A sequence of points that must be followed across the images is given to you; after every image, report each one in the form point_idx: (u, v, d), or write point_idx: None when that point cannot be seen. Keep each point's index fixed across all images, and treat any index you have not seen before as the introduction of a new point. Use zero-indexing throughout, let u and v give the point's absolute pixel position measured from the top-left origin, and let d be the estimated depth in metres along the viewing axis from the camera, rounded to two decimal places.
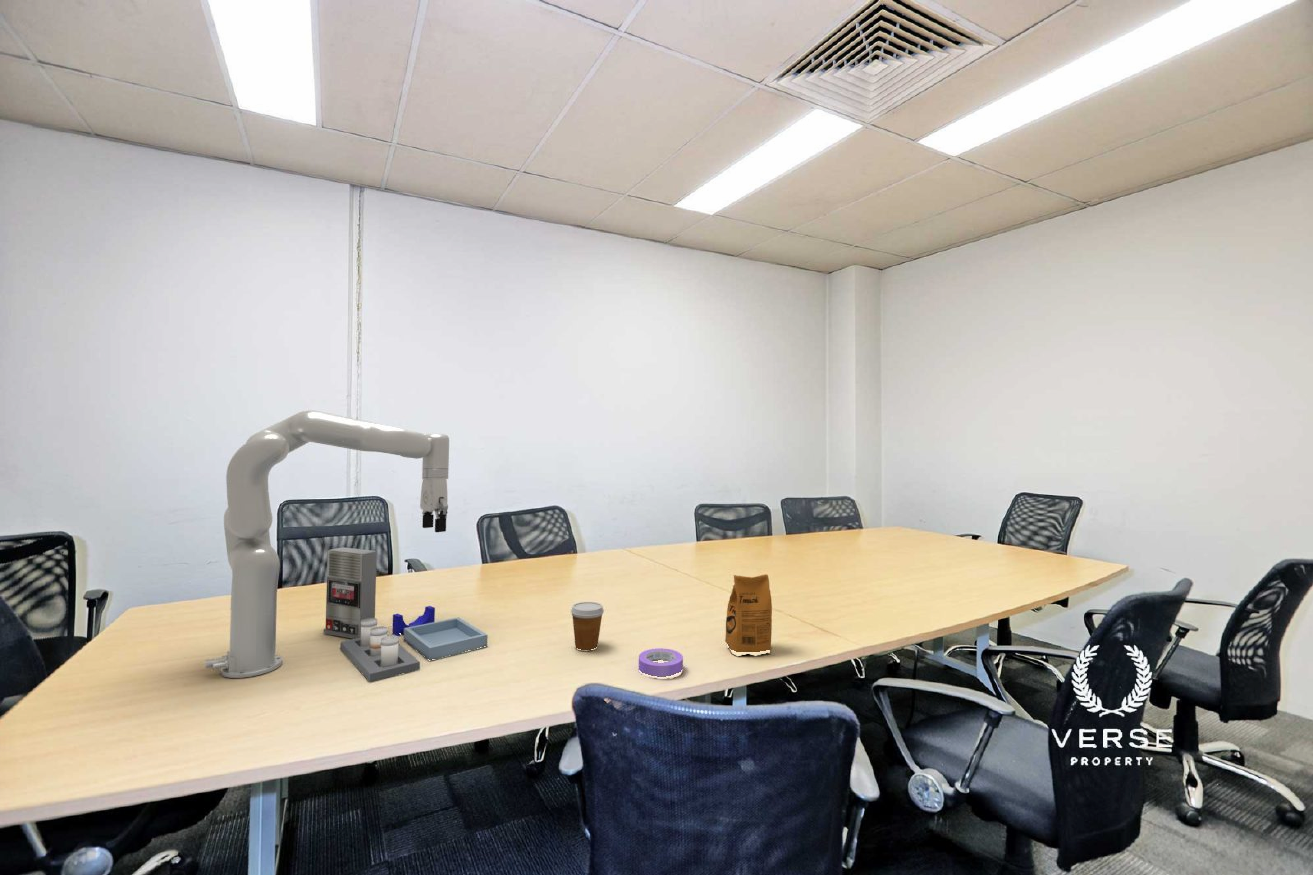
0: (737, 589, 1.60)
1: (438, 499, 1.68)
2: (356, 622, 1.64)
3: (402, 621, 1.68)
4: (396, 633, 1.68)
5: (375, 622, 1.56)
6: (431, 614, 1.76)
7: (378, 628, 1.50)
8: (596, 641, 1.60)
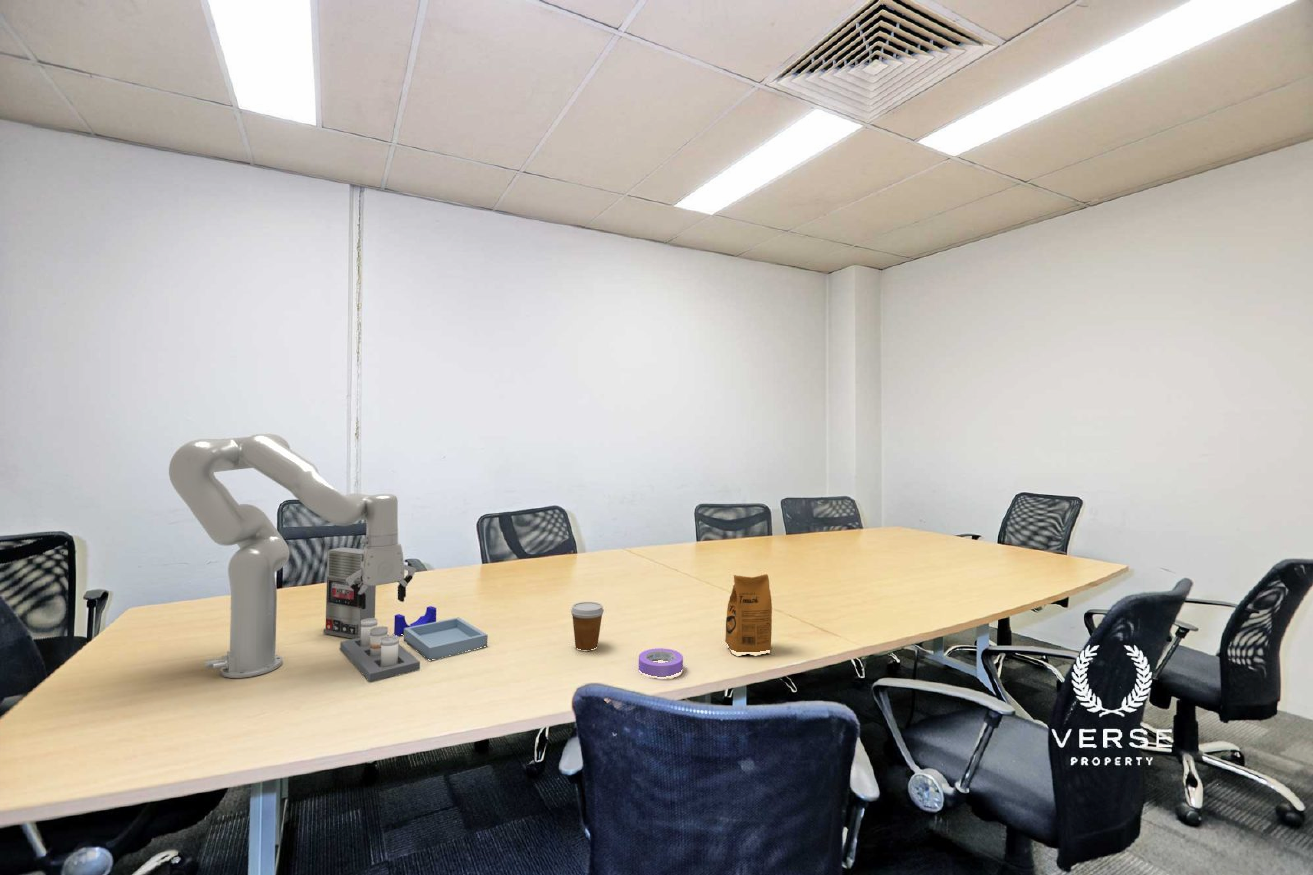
0: (737, 589, 1.60)
1: None
2: (356, 622, 1.64)
3: (404, 621, 1.68)
4: (398, 634, 1.67)
5: (375, 622, 1.56)
6: (433, 614, 1.76)
7: (378, 628, 1.50)
8: (596, 641, 1.60)
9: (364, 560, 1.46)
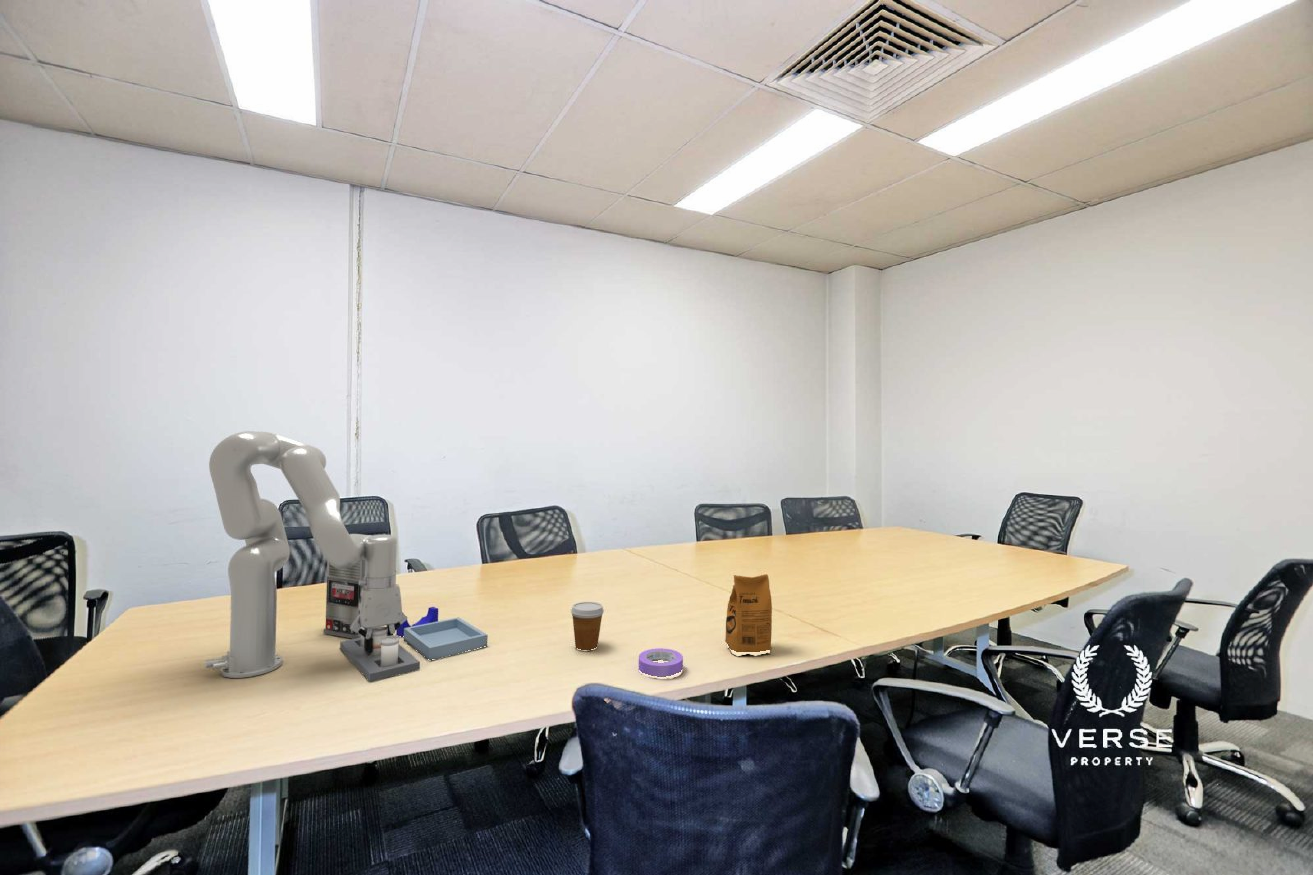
0: (737, 589, 1.60)
1: None
2: None
3: (406, 622, 1.67)
4: (400, 634, 1.67)
5: None
6: (435, 615, 1.75)
7: (378, 628, 1.50)
8: (596, 641, 1.60)
9: (362, 602, 1.46)
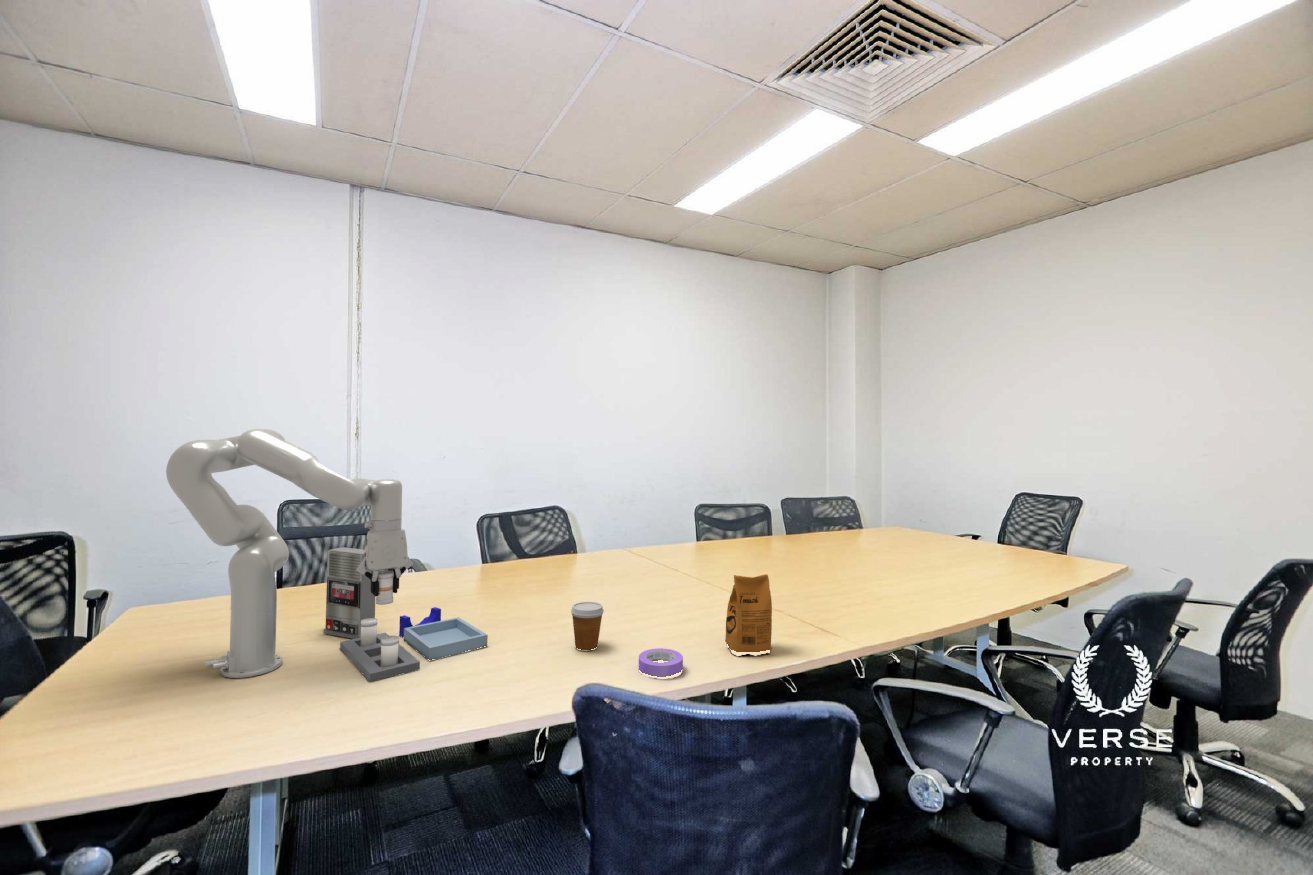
0: (737, 589, 1.60)
1: None
2: (356, 622, 1.64)
3: (409, 623, 1.67)
4: (403, 635, 1.66)
5: (375, 622, 1.56)
6: (437, 615, 1.75)
7: (384, 572, 1.51)
8: (596, 641, 1.60)
9: (368, 544, 1.46)
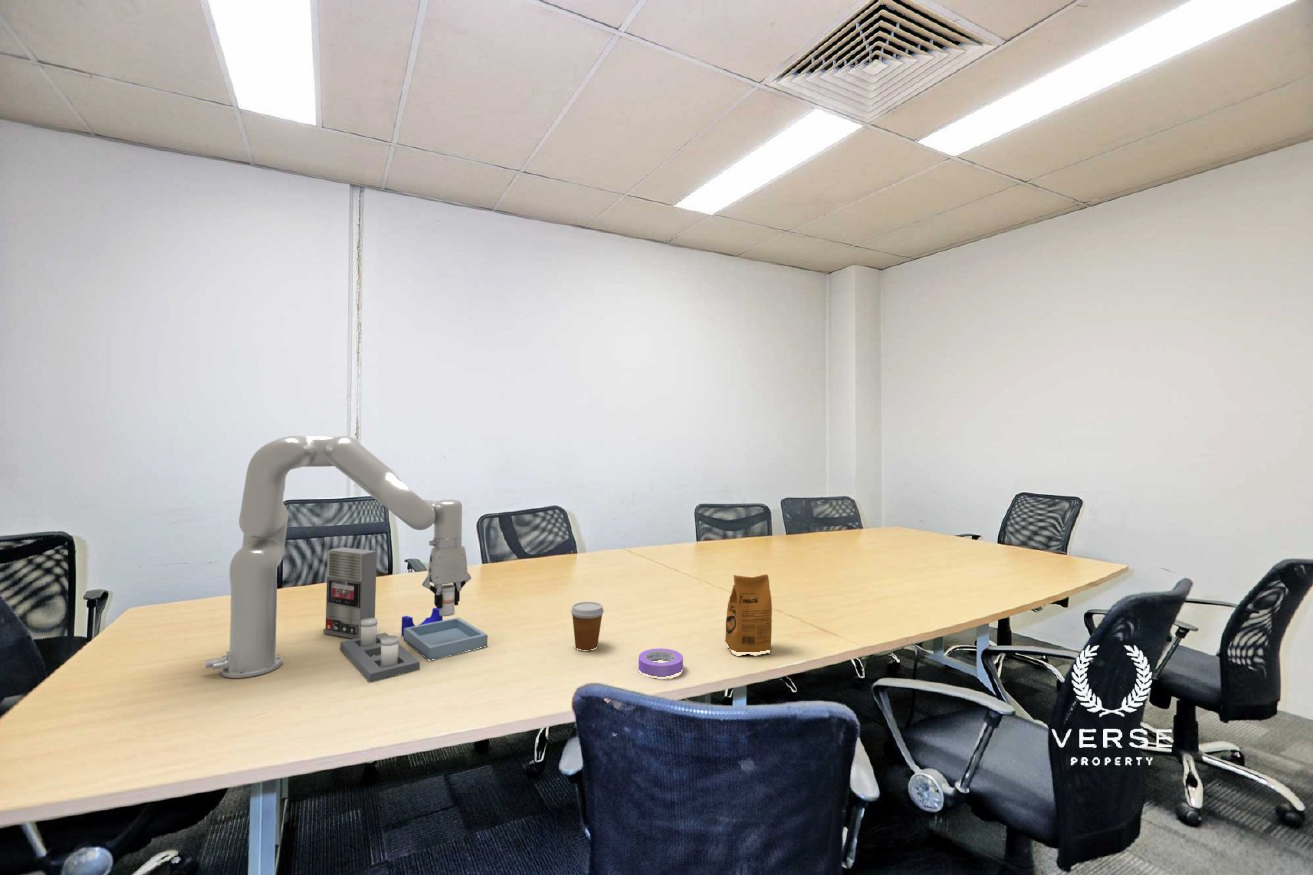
0: (737, 589, 1.60)
1: None
2: (356, 622, 1.64)
3: (412, 623, 1.67)
4: None
5: (375, 622, 1.56)
6: (439, 615, 1.75)
7: (446, 586, 1.63)
8: (596, 641, 1.60)
9: (433, 561, 1.58)
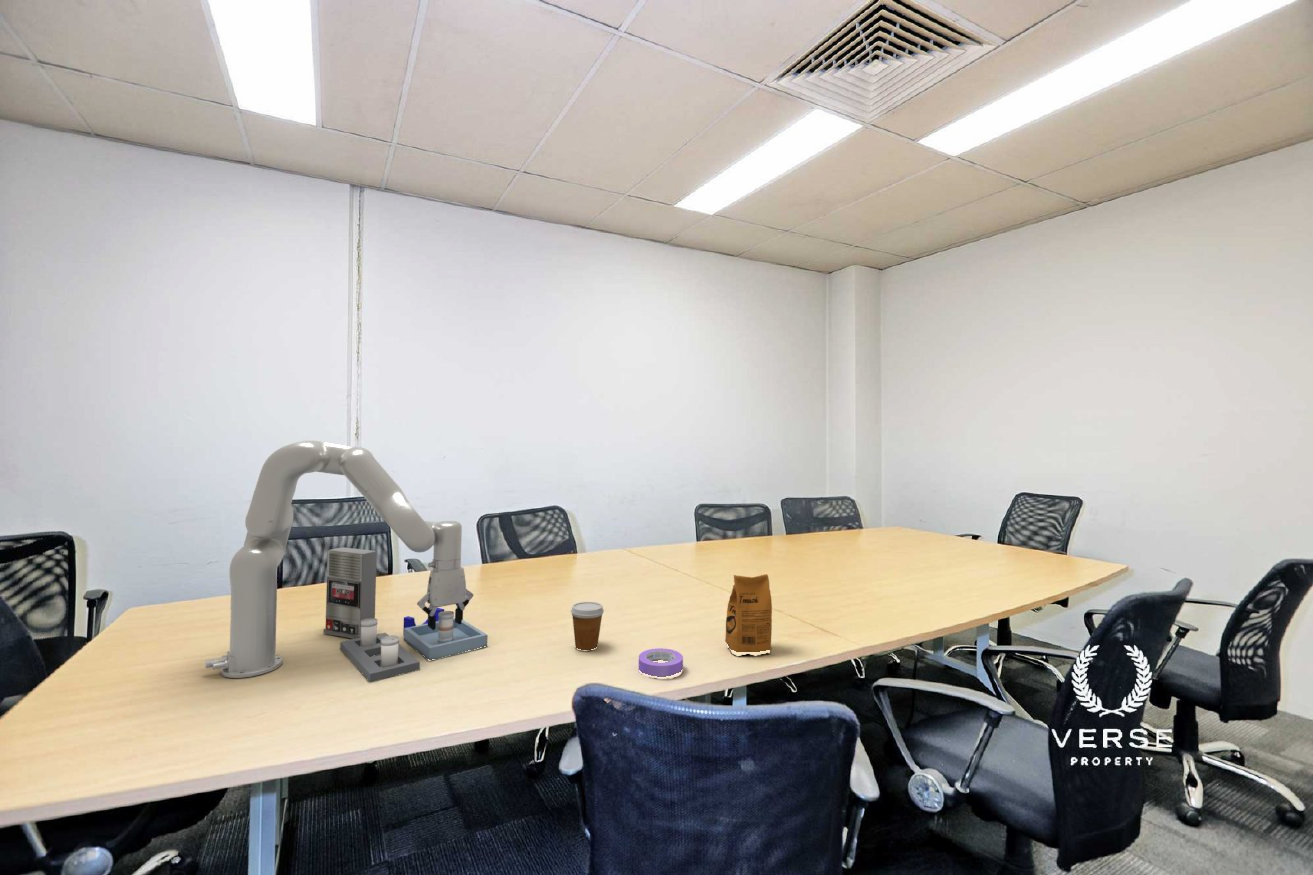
0: (737, 589, 1.60)
1: None
2: (356, 622, 1.64)
3: (414, 624, 1.66)
4: None
5: (375, 622, 1.56)
6: None
7: (445, 612, 1.63)
8: (596, 641, 1.60)
9: (432, 583, 1.58)
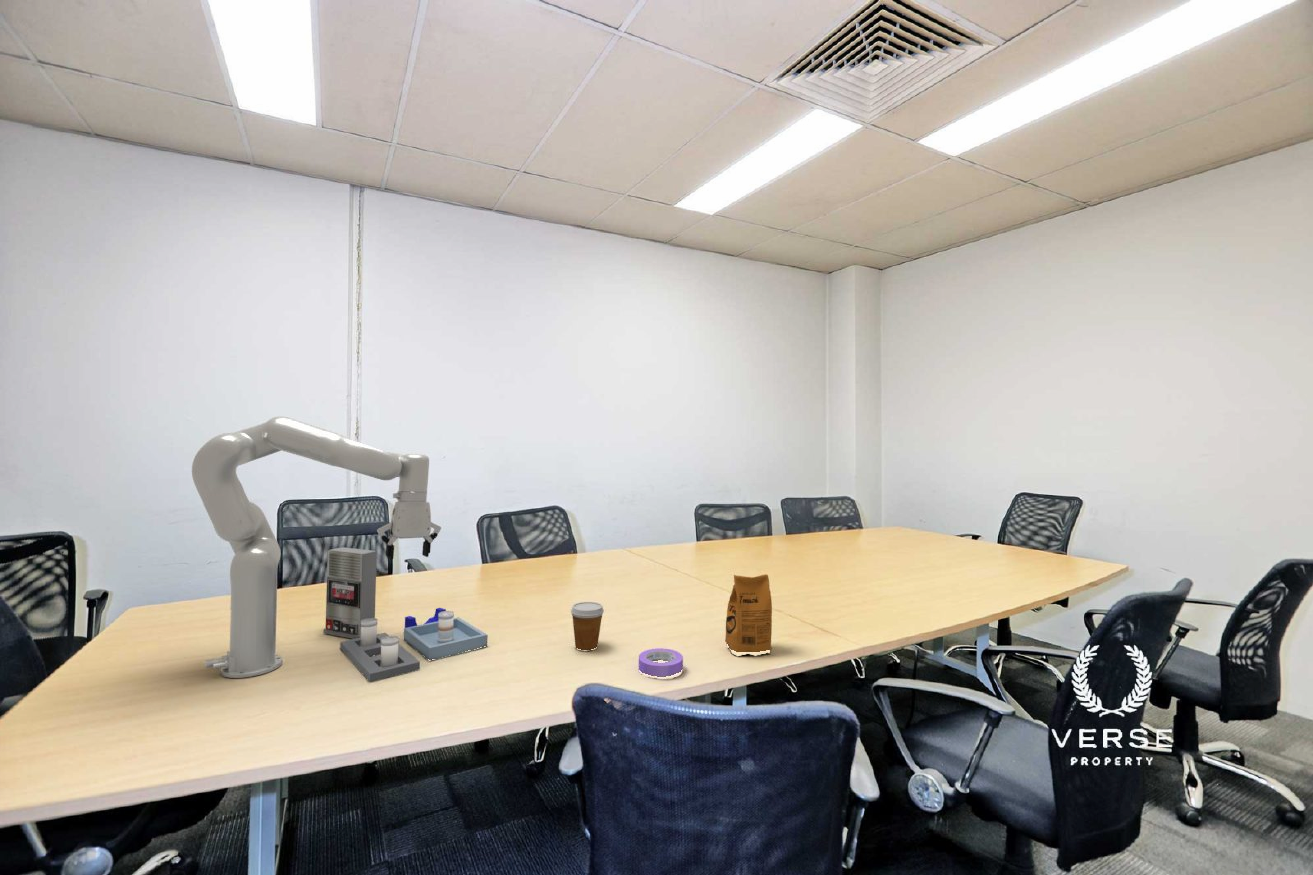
0: (737, 589, 1.60)
1: None
2: (356, 622, 1.64)
3: (415, 623, 1.66)
4: None
5: (375, 622, 1.56)
6: None
7: (445, 612, 1.63)
8: (596, 641, 1.60)
9: (395, 513, 1.56)
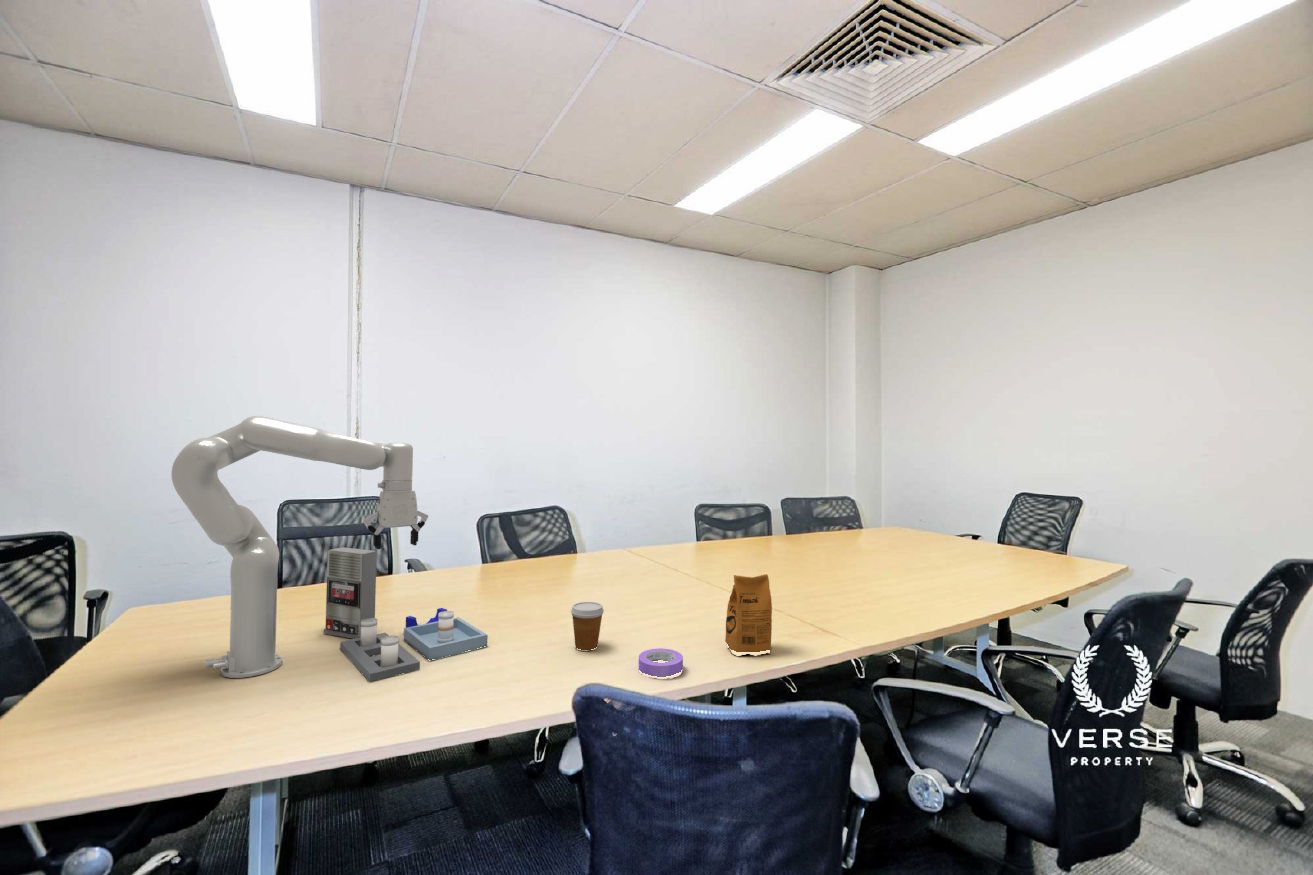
0: (737, 589, 1.60)
1: None
2: (356, 622, 1.64)
3: (415, 623, 1.67)
4: None
5: (375, 622, 1.56)
6: None
7: (445, 612, 1.63)
8: (596, 641, 1.60)
9: (381, 503, 1.55)
